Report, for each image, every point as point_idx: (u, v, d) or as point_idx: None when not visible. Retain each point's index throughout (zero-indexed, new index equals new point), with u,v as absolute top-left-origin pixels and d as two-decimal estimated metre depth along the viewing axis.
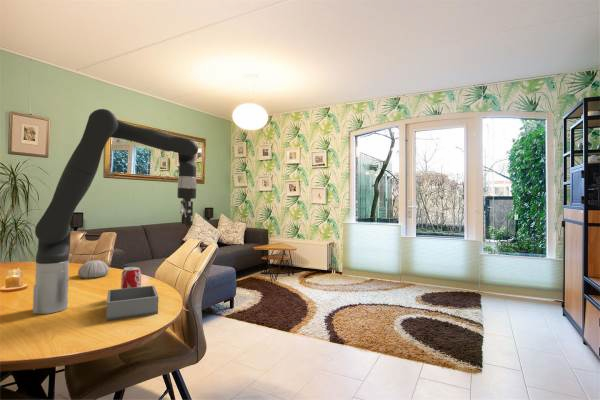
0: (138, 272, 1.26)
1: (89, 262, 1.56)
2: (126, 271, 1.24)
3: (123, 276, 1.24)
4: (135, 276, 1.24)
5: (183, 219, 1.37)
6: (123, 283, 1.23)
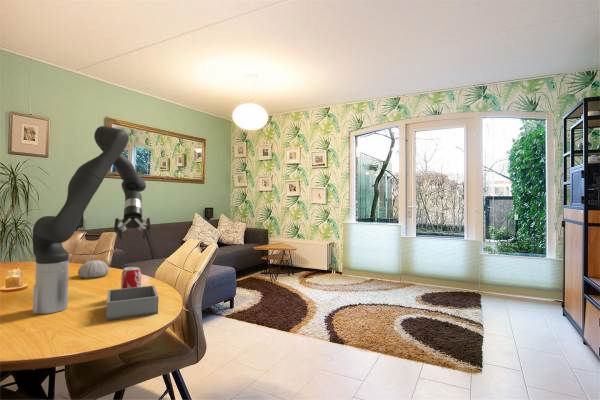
0: (138, 272, 1.26)
1: (89, 262, 1.56)
2: (126, 271, 1.24)
3: (123, 276, 1.24)
4: (135, 276, 1.24)
5: None
6: (123, 283, 1.23)
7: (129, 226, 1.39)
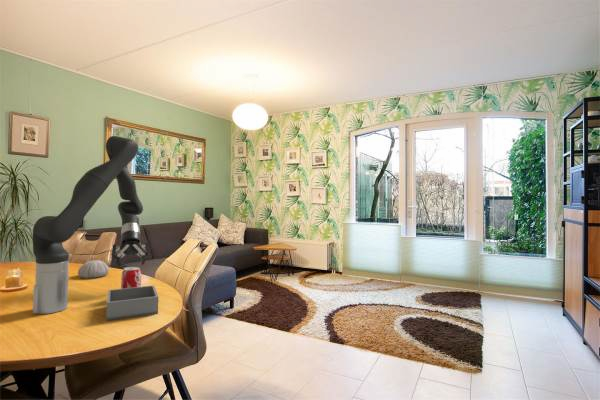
0: (138, 272, 1.26)
1: (89, 262, 1.56)
2: (126, 271, 1.24)
3: (123, 276, 1.24)
4: (135, 276, 1.24)
5: None
6: (123, 283, 1.23)
7: (127, 252, 1.35)
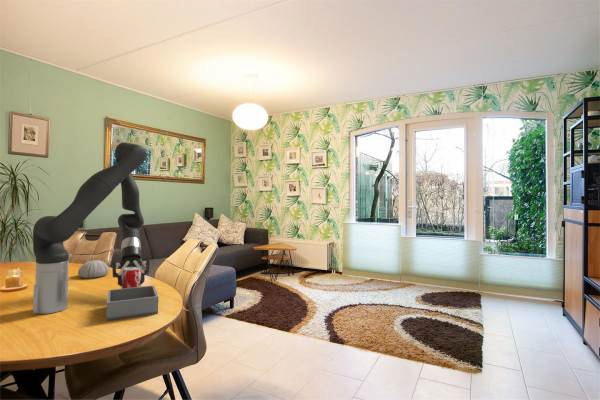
0: (138, 272, 1.26)
1: (89, 262, 1.56)
2: (126, 271, 1.24)
3: (123, 276, 1.24)
4: (135, 276, 1.24)
5: (121, 279, 1.25)
6: (123, 283, 1.23)
7: None
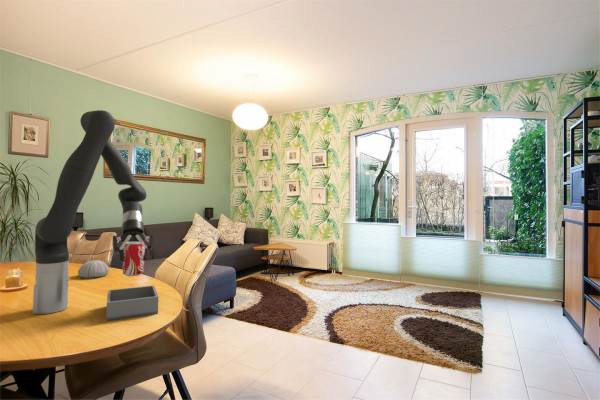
0: (142, 246, 1.15)
1: (89, 262, 1.56)
2: (129, 245, 1.13)
3: (125, 250, 1.13)
4: (138, 250, 1.14)
5: (123, 254, 1.14)
6: (125, 258, 1.13)
7: None
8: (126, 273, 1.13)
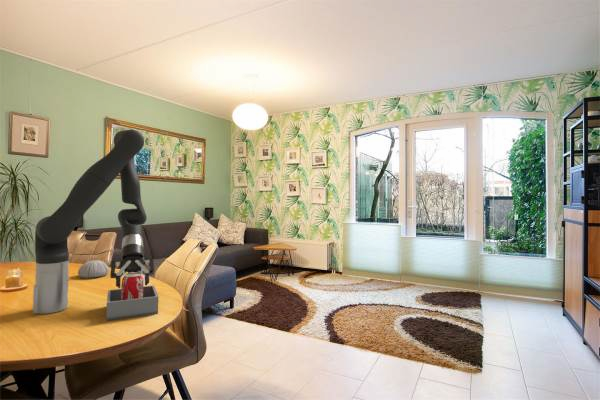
0: (140, 279, 1.13)
1: (89, 262, 1.56)
2: (127, 278, 1.11)
3: (123, 283, 1.11)
4: (136, 283, 1.12)
5: (120, 280, 1.12)
6: (123, 291, 1.11)
7: (129, 270, 1.15)
8: None
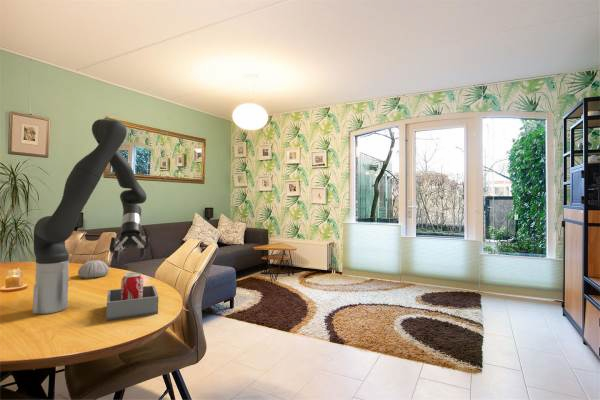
0: (140, 279, 1.13)
1: (89, 262, 1.56)
2: (126, 278, 1.11)
3: (123, 283, 1.11)
4: (136, 283, 1.12)
5: (118, 254, 1.24)
6: (123, 291, 1.11)
7: (126, 245, 1.27)
8: None
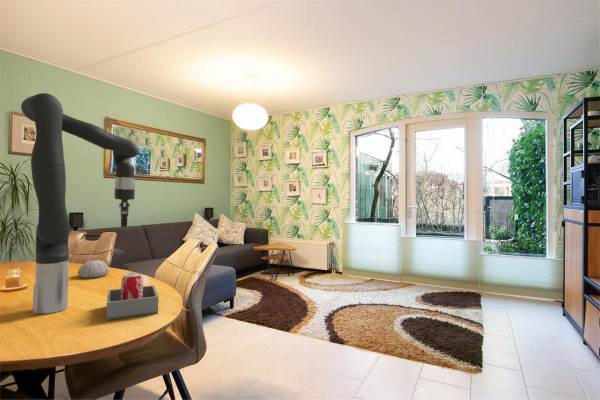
0: (140, 279, 1.13)
1: (89, 262, 1.56)
2: (126, 278, 1.11)
3: (123, 283, 1.11)
4: (136, 283, 1.12)
5: None
6: (123, 291, 1.11)
7: None
8: None
